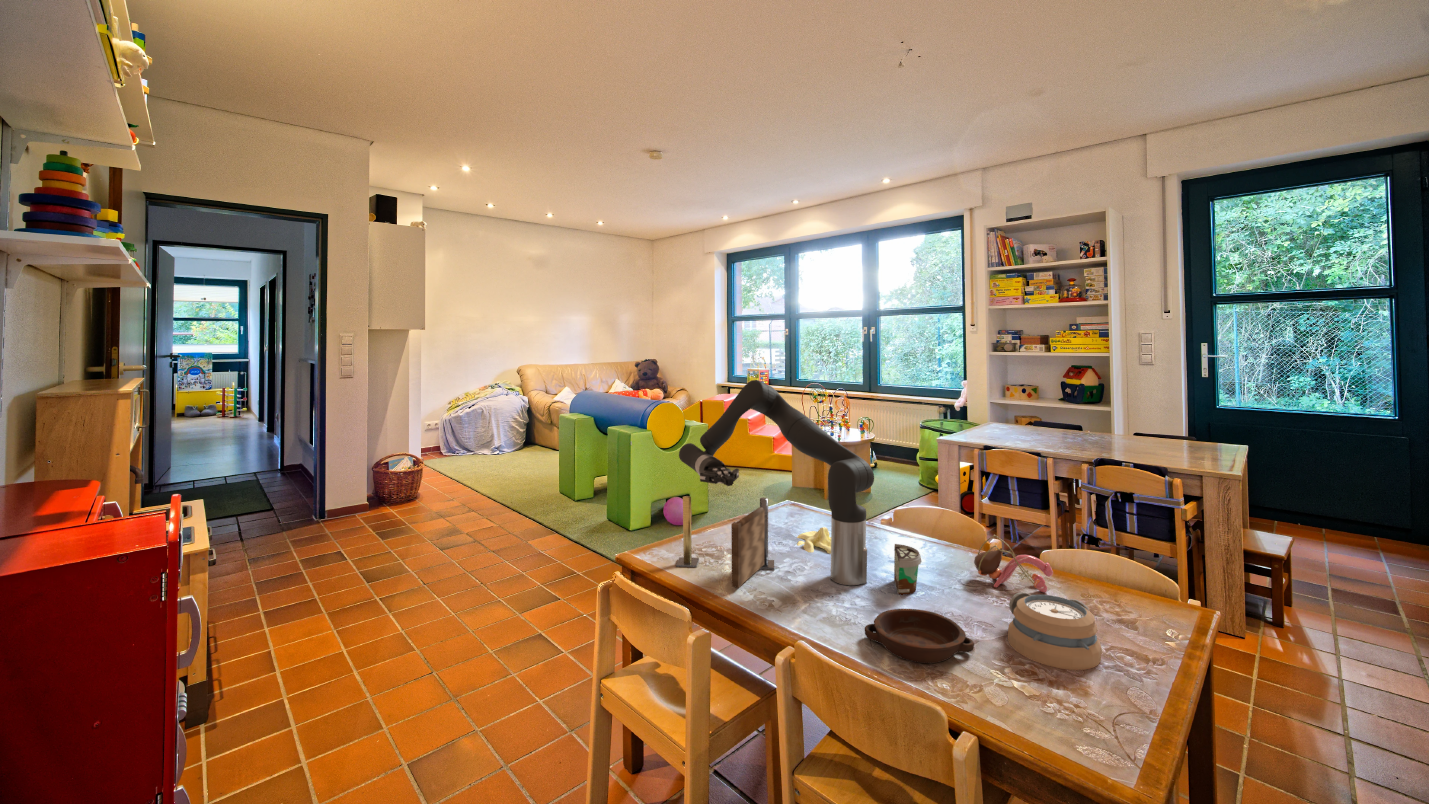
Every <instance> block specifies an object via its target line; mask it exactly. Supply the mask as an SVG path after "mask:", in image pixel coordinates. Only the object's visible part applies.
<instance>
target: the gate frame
mask: <svg viewBox="0 0 1429 804" xmlns="http://www.w3.org/2000/svg"><path fill="white" fill-rule="evenodd" d="M759 507H762V508H763V509H764V565H763V566H762V567H761V568H760V569H759V570H765V571H766V570H767V571H768V570H769V571H771V570H772V571H773V570H774V571H775V559H769V498H768V497H759ZM682 530H683V531H682V533H683V534H682V535H683V536H682V537H683V538H682V540H683V542H682V543H683V548H682V549H683V556H681V557H678V559H677V561H676V564H675V567H676V568H697V567H698V565H699V562H700V561H699V560H700V557H692V556H693V555H692V548H693V547H692V541H693V540H692V496H691V495H686V496H685V495H684V496H682Z"/></svg>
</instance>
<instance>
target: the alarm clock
mask: <svg viewBox="0 0 1429 804" xmlns="http://www.w3.org/2000/svg"><path fill="white" fill-rule="evenodd" d="M1008 606H1009V607H1008V608H1009V610H1010V612H1011V614H1012V615H1013V616H1014V617H1013V619H1012V620H1011V621H1010V622H1009V624H1008V629H1007V642H1008V643H1009V645H1010V646H1011V648H1012V649H1013V650H1014V651H1016V652H1017V653H1018V654H1020V655H1022V656H1023V657H1025V658H1027V659H1029V660H1031V661H1033V662H1036V663H1039V664H1040V665H1041V664H1042V665H1044V666H1047V667H1052V668H1055V669H1061V670H1070V671H1086V670H1089V669H1093V668H1095V667H1097V666H1098V665H1099V664H1100V663H1101V661H1102V652H1103V651H1102V646H1101V642H1100V640H1099V638H1098V636H1097V633H1098V626H1097V624H1096V620H1095V616H1094V614H1093V613H1092V612H1091V611H1090V609H1089V607H1088V606H1087V605H1086V604H1085V603H1084V602H1083V601H1080V600H1078V599H1074V598H1070V599H1068V598H1064V597H1060V596H1057V595H1056V596H1055V595H1049V594H1029V593H1028V592H1026V591H1025V592H1024V591H1023V592H1021V591H1020V592H1017V593H1015V594H1014V595H1012V597H1011V599H1009V604H1008Z"/></svg>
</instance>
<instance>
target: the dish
mask: <svg viewBox="0 0 1429 804" xmlns="http://www.w3.org/2000/svg"><path fill="white" fill-rule="evenodd" d="M864 635H865V636H866V638H868V639H869V640H871V641H874V642H877V643H878V644H881V645H883V647H884V648H885V649H886V650H887V651H889V652H890V653H891V654H893V655H895V656H896V657H898V658H901V659H903V660H906V661H910V662H913V663H919V664H935V663H940V662H943V661H946V660H948V659H950V658H951V657H953V656H954V655H955V654H957V653H970V652H973V650H974V649H975V648H974V647H975V642H974V641H973V639H972V638H969V637H967V636H966V632H965V630H964V629H963V628H962V627H961V625H959V624H958V623H956V621H954V620H953V619H951V618H948V617H946V616H944V615H942V614H940V613H937V612H934V611H930V610H924V609H920V608H919V609H917V608H893V609H887V610H884V611H882V612H880V613H879V614H878V615H876V617H875V618H874V620H873V623H870V624H867V625H865V627H864Z"/></svg>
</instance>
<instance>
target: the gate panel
mask: <svg viewBox="0 0 1429 804" xmlns="http://www.w3.org/2000/svg"><path fill="white" fill-rule="evenodd" d="M730 524H731V587H733V588H737V589H739V588H740V587H742V585H743V584H744V583H745V582H746V581H747V580H749V578H751V577H752V576H753V575H754V574H755V573H756V572H758V571H759V570H761V569H760V568H761V567H762V566H763V565H764V509H763V508H762V507H760V506H759V507H757V508H756V509H754V510H753V511H751V512H750V513H748V514H747V515H745V516H743V517H742V518H741V519H739V520H738V521H734V522H731V523H730Z"/></svg>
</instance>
